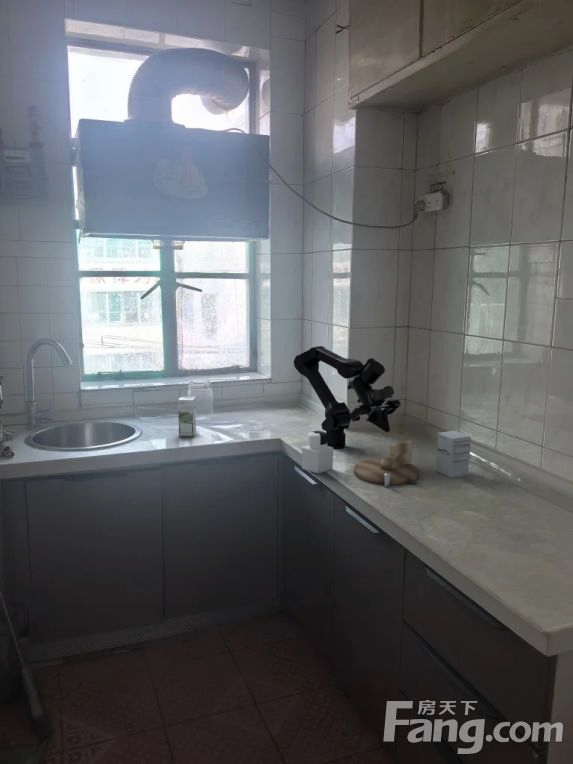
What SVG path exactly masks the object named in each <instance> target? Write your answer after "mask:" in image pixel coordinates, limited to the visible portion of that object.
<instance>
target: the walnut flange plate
mask: <svg viewBox="0 0 573 764" xmlns="http://www.w3.org/2000/svg"><path fill="white" fill-rule="evenodd" d="M389 445H390V446H389V457H382V458H371V459H370V458H369V459H365V460H361V461H359V462H357V463H355V465H354V467H353V474H354V475H355V476H356V477H357V478H359V479H360V480H362V481H365V482H369V483H373V484H378V485H384V478H385V473H390V486H392V485H395V486H397V485H405V484H412V485H416V484H418V483H417V482H418V479H420V472H421V470H420V468H419V467H417V466H416V465H415V464H412V450H413V441H412V440H406V441H401V442H397V443H393V444H392V443H391V444H389Z"/></svg>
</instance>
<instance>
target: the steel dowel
mask: <svg viewBox="0 0 573 764" xmlns="http://www.w3.org/2000/svg"><path fill="white" fill-rule="evenodd" d="M383 485H384V486H383V488H384V489H385V488H386V489H389V488H390V487H391V485H390V473H385V478H384V484H383Z"/></svg>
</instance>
